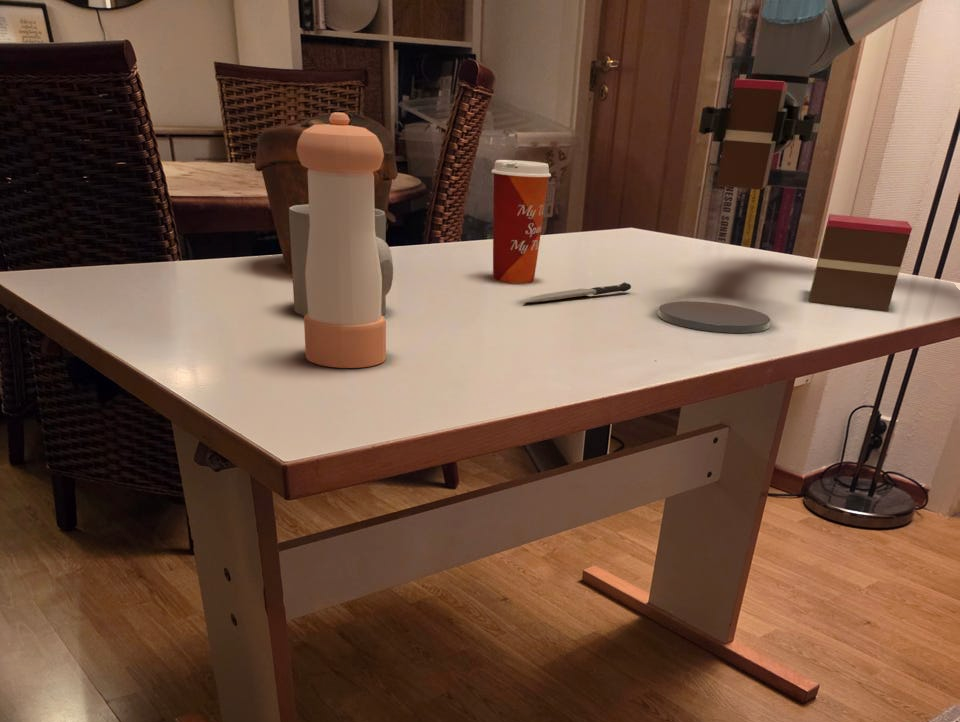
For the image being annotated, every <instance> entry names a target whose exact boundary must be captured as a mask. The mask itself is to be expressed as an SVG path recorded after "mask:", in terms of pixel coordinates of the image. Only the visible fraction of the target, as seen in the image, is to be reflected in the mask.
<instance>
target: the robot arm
mask: <svg viewBox="0 0 960 722" xmlns="http://www.w3.org/2000/svg"><path fill="white" fill-rule="evenodd" d="M922 1H923V0H764V4H763V7H762V10H761V13H760V15H761V20H760V25H759V30H758V36H757V41H756V48H755V53H754V59H753V63H752V69H751V75H750V79H753V80H770V81H784V82H785V83H787V84H788V87H787V91H786V96H785V101H784V106H783V111H782V112H781V111H777V116H776V121H775V125H774V130H773V135H772V140H771V141H775V142H776V144H775V149H774V154H773V155H776V154H779V153H781V152H782V151H784V150H785V149H787V148H788V147H789V146H790V145H791V144H792V143H793V141H794V140H795V139H796V136H798V141H800V142H802V143H807V142H813V141H815V140H817V137H818V133H819V128H820V124H821V120H822V115H819V114H816V113H814V114H813V113H807V114H804V115H803V114H802V113H803V109H804V108H803V107H804V102H805V98H806V94H807V89H808V85H809V81H810V75H814V74H816V73H819V72H821V71H823V70H825V69H826V68H827V67H829V66H830V65H831V64H832V63H833V61H834V60H836V58H837V57H838V56H840V55H841V54H843V53H844V52H845V51H847V50H849V49H850V48H851V47H853V46H854V45H856V44H857V43H858V42H860V41H861V40H863V39H865V38H867V36H869V35H871V34H873V33H874V32H876V31H877V30H879V29H881V28H882V27H883V26H885V25H886V24H888V23H890V22H892V21H893V20H894V19H896V18H898V16H901V15H902V14H904V13H905V12H907V11H908V10H910V9H911V8H913V7H914V6H916V5H918V4H919V3H920V2H922ZM729 111H730V107H721V108H720V107H719V108H716V106H708V105H707V106H704V107H702V110H701V116H700V121H699V128H698V133H699V134H701V135H706V134H713V136H712V140H711V141H712V142H715V143H716V142H717V143H724V139H725V133H726V130H727V129H726V128H727V122H728V117H729Z"/></svg>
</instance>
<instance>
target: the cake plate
mask: <svg viewBox="0 0 960 722" xmlns="http://www.w3.org/2000/svg"><path fill="white" fill-rule="evenodd" d="M657 316H658V318H660V319H661V320H663V321H664V322H667V323H669V324H672V325H676V326H679V327H682V328H687V329H691V330H697V331H705V332H713V333H723V334H725V333H726V334H752V333H760V332H763V331H766V330H768V329H769V328H770V326H771V317H770V316H768V314H766V313H763V312H761V311H758V310H755V309H751V308H747V307H743V306H738V305H733V304H726V303H720V302H711V301H710V302H709V301H693V300H692V301H691V300H690V301H688V300H686V301H684V300H683V301H671V302H667V303H663V304H660V305H659V306H658V310H657Z"/></svg>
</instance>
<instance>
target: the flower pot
mask: <svg viewBox="0 0 960 722" xmlns="http://www.w3.org/2000/svg"><path fill="white" fill-rule="evenodd" d="M332 113H333V112H331V113H323V114H319V115H316V116H312V117H309V118H307V119H303V121H301V122H298V123H296V124H292V125H283V126H276V127H272V128H268V129H266V130H264V131H262V132H261V133H260V134H259V137H258V138H257V145H256V153H255V158H254V169H255V171H256V172H261V175H262V178H263V183H264V187H265V191H266V196H267V198H268V203H269V207H270V210H271V216H272V220H273V222H274V227H275V231H276V235H277V239H278V242H279V246H280V250H281V254H282V259H283V264H284V267H286V269H288V270H289V271H291V272H292V257H291V239H290V221H289V208H290V207H292V206H296V205H305V204H309V194H308V170H309V169H308V168H306V167H304V166H302V164H301V162H300V160H299V157H298V154H297V151H296V149H297V144H298V140H299V138H300V136H301V134H302V132H303V131H304V130H306V129H308V128H310V127H311V126H313V125H323V124H331V122H330V120H329V118H330V115H331V114H332ZM339 113H343V112H339ZM344 113H345V114H346V115H348V117H349V119H350V121H349V123H348V125H350V126H356V127H363V128H365V129H367V130H368V131H370V132H372V133H373V134H375V135H376V136H377V138H378V140H379V141H380V143H381V145H382V149H383V153H384V158H383V161H382V165H381V167H380V169H378V170H376V171H374V172H373V175H374V202H375V209H379V210H382V211H384V212H385V216H386V232H387V231H388V229H389V223H388V220H389V221H390V222H392V223H396V222H397V221H396V217H395V215H394V214H393V213H391V212H390V211H389V201H390V193H391V188H392V184H393V181H395V180H396V179H397V177H398V174H399V173H398V166H397V162H396V156H395V155H396V154H395V149H394V148H395V147H394V140H393V136H392V134H391V133H390V131H389V130H388V129H387V128H386V127H384V126H383V125H382V124H381V123H380V122H378V121H376V120H375V119H372V118H370V117H367V116H365V115H362V114H358V113H353V112H352V113H351V112H344Z"/></svg>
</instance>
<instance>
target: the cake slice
mask: <svg viewBox="0 0 960 722" xmlns="http://www.w3.org/2000/svg"><path fill="white" fill-rule="evenodd" d="M787 87H788V84H787V83H785V82H784V81H770V80H753V79H751V78H735V79H734V84H733V88H732V89H733V90H732V95H731V99H730V106H729V108H730V111H729V117H728V122H727V128H726V129H727V130H726V133H725V137H724V138H723V144H722V150H721V155H720V162H719V166H718V172H717V178H716V183H715V186H717V187H727V188H738V189H748V190H759V191H763V189H764V188H766V187H767V186H768V182H769V177H770V172H771V168H772V163H773V157H774V155H775V154H774V149H775V144H776V142H775V141H771V140H772V135H773V130H774V125H775V121H776V116H777V111H781V112H782V111H783V106H784V101H785V96H786V91H787Z"/></svg>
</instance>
